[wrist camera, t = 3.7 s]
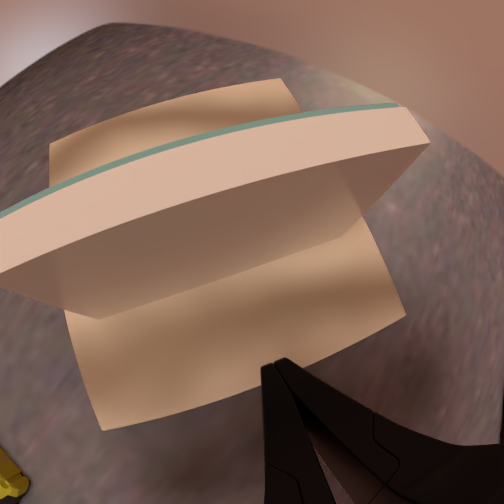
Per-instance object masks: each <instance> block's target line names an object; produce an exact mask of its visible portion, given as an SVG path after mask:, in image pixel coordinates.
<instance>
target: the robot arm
mask: <svg viewBox="0 0 504 504" xmlns="http://www.w3.org/2000/svg"><path fill="white" fill-rule="evenodd" d="M260 375H261V397H262V418H263V440H264V462H265V465H264V466H265V497H264V504H336V502H335V500H334V497H333V495H332V492H331V490H330V488H329V485H328V483H327V480H326V478H325V475H324V473H323V470H322V468H321V465H320V463H319V460H318V458H317V455H316V453H315V450H314V448H313V446H314V447H315V449H316V450H317V451H318V453H319V454H320V456H321V457H322V459H323V460H324V461H325V463H326V464H327V466H328V467H329V468H330V470H331V471H332V473H333V474H334V475H335V477H336V478H337V480H338V481H339V482H340V484H341V485H342V486H343V488H344V489H345V490H346V492H347V493H348V494H349V496H350V497H351V498H352V500H353V501H354V502H355V504H504V443H501V444H490V445H473V446H462V445H454V444H450V443H446V442H443V441H440V440H437V439H435V438H432V437H429V436H426V435H423V434H421V433H418V432H415V431H413V430H410V429H408V428H405V427H403V426H401V425H398V424H396V423H394V422H392V421H391V420H389V419H387V418H385V417H383V416H381V415H379V414H378V413H376V412H374V413H373V411H372V410H371V409H369V408H367V407H365V406H364V405H362V404H360V403H359V402H357V401H355V400H354V399H352V398H350V397H349V396H347V395H345V394H344V393H342V392H340V391H339V390H337V389H335V388H334V387H332V386H330V385H329V384H327V383H326V382H324V381H322V380H321V379H319V378H318V377H316V376H315V375H313V374H311V373H310V372H308V371H307V370H305V369H304V368H302V367H301V366H299V365H297V364H296V363H294V362H293V361H291V360H290V359H288V358H286V357H283V358H281V359H278V360H276V361H274V363H268V364H266V365H263V366H261V368H260ZM312 444H313V445H312Z"/></svg>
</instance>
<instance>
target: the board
mask: <svg viewBox="0 0 504 504" xmlns="http://www.w3.org/2000/svg"><path fill="white" fill-rule="evenodd" d="M296 113H303V111H302V110H301V108H300V107H299V105H298V104H297V102H296V101H295V99H294V98H293V96H292V95H291V93H290V92H289V90H288V89H287V87H286V86H285V84H284V83H283V81H282V80H281V79H280V78H278V79H271V80H264V81H257V82H251V83H245V84H239V85H233V86H228V87H223V88H218V89H213V90H208V91H204V92H200V93H195V94H191V95H187V96H183V97H179V98H175V99H172V100H168V101H164V102H161V103H157V104H154V105H151V106H147V107H144V108H141V109H138V110H135V111H132V112H129V113H126V114H123V115H120V116H117V117H114V118H111V119H109V120H106V121H103V122H101V123H98V124H95V125H93V126H90V127H88V128H85V129H83V130H80V131H78V132H76V133H73V134H71V135H69V136H66V137H64V138H62V139H60V140H57V141H55V142H53V143H51V144H50V153H49V186H50V187H52V186H54V185H57V184H59V183H61V182H63V181H66V180H68V179H70V178H73V177H75V176H77V175H80V174H82V173H85V172H87V171H90V170H92V169H95V168H97V167H100V166H102V165H105V164H108V163H110V162H113V161H116V160H119V159H121V158H124V157H127V156H130V155H133V154H136V153H139V152H142V151H145V150H148V149H151V148H154V147H157V146H160V145H164V144H167V143H170V142H174V141H177V140H180V139H184V138H187V137H191V136H195V135H198V134H202V133H206V132H210V131H214V130H218V129H222V128H226V127H230V126H235V125H239V124H244V123H248V122H253V121H258V120H263V119H268V118H273V117H279V116H285V115H290V114H296ZM64 311H65V316H66V320H67V325H68V329H69V333H70V337H71V341H72V344H73V348H74V352H75V355H76V359H77V362H78V365H79V369H80V372H81V375H82V378H83V381H84V384H85V387H86V390H87V393H88V396H89V398H90V401H91V404H92V407H93V409H94V412H95V414H96V417H97V419H98V422H99V424H100V427H101V429H102V431H104V430H109V429H114V428H119V427H124V426H128V425H133V424H137V423H141V422H145V421H150V420H153V419H157V418H161V417H165V416H169V415H172V414H176V413H179V412H183V411H186V410H190V409H193V408H196V407H200V406H203V405H206V404H209V403H212V402H215V401H218V400H221V399H224V398H227V397H230V396H233V395H236V394H238V393H241V392H244V391H247V390H249V389H252V388H255V387H257V386H260V385H261V375H260V368H261V366H263V365H266V364H268V363H274V361H276V360H278V359H281V358H283V357H286V358H288V359H290V360H291V361H293V362H294V363H296V364H297V365H299V366H301V367H302V368H304V367H306V366H308V365H311V364H313V363H315V362H317V361H319V360H322V359H324V358H326V357H328V356H330V355H332V354H334V353H336V352H338V351H340V350H343V349H345V348H347V347H349V346H351V345H353V344H355V343H357V342H358V341H360V340H362V339H364V338H366V337H368V336H370V335H372V334H374V333H376V332H377V331H379V330H381V329H383V328H385V327H387V326H388V325H390V324H392V323H394V322H395V321H397V320H399V319H401V318H402V317H404V316H406V313H405V311H404V308H403V306H402V303H401V301H400V298H399V296H398V293H397V291H396V288H395V286H394V284H393V281H392V279H391V276H390V274H389V272H388V269H387V267H386V265H385V263H384V260H383V258H382V256H381V254H380V252H379V249H378V247H377V245H376V243H375V241H374V239H373V237H372V234H371V232H370V230H369V228H368V226H367V224H366V222H365V220H364V218H363V216H362V217H361V218H360V219H359V220H358V221H357V222H356V223H355V224H354V225H353V226H352V227H351V228H350V229H349V230H348V231H347V232H346V233H345V234H344V235H343V236H342V237H340V238H337V239H334V240H331V241H328V242H326V243H323V244H320V245H317V246H314V247H312V248H309V249H306V250H303V251H300V252H298V253H295V254H292V255H289V256H286V257H283V258H281V259H278V260H275V261H272V262H269V263H266V264H263V265H261V266H258V267H255V268H252V269H249V270H246V271H243V272H240V273H238V274H235V275H232V276H229V277H226V278H223V279H220V280H217V281H214V282H211V283H208V284H205V285H203V286H200V287H197V288H194V289H191V290H188V291H185V292H182V293H179V294H176V295H173V296H170V297H167V298H164V299H161V300H158V301H155V302H152V303H149V304H146V305H143V306H140V307H137V308H134V309H131V310H128V311H125V312H122V313H119V314H115V315H112V316H109V317H106V318H103V319H100V320H98V319H94V318H91V317H87V316H84V315H80V314H77V313H73V312H70V311H67V310H64Z"/></svg>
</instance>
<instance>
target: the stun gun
mask: <svg viewBox="0 0 504 504" xmlns="http://www.w3.org/2000/svg"><path fill="white" fill-rule="evenodd" d="M20 473H21V470H20V469H19V468H18V467H17V466H16V465H15V464H14V462H13V461H12V460H11V459H10V458H9V457H8V456H7V455H6V453H5V452H4V451H3V450H2V449H1V448H0V504H17V503H18V501H19V500H20V499H21V498H22V497H23V496H24V495H25V493H26V491H27V489H28V486H29V479H28V478H27V477H26V476H22V475H21V474H20Z"/></svg>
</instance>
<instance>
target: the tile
mask: <svg viewBox="0 0 504 504" xmlns="http://www.w3.org/2000/svg"><path fill="white" fill-rule="evenodd" d="M430 143H431V142H430V141H429V139H428V138H427V136H426V135H425V133H424V132H423V131H422V129H421V128H420V126H419V125H418V123H417V122H416V121H415V119H414V118H413V117H412V115H411V114H410V112H409V111H408V110H407V109H406V107H399V106H398V105H397V104H396V103H384V104H370V105H359V106H349V107H340V108H331V109H324V110H316V111H309V112H303V113H296V114H290V115H285V116H279V117H273V118H268V119H263V120H258V121H253V122H248V123H244V124H239V125H235V126H230V127H226V128H222V129H218V130H214V131H210V132H206V133H202V134H198V135H195V136H191V137H187V138H184V139H180V140H177V141H174V142H170V143H167V144H164V145H160V146H157V147H154V148H151V149H148V150H145V151H142V152H139V153H136V154H133V155H130V156H127V157H124V158H121V159H119V160H116V161H113V162H110V163H108V164H105V165H102V166H100V167H97V168H95V169H92V170H90V171H87V172H85V173H82V174H80V175H77V176H75V177H73V178H70V179H68V180H66V181H63V182H61V183H59V184H57V185H54V186H52V187H50V188H48V189H46V190H43V191H41V192H39V193H37V194H35V195H33V196H31V197H29V198H27V199H25V200H23V201H21V202H19V203H17V204H15V205H13V206H11V207H9V208H7V209H6V210H4V211H2V212H0V288H3V289H5V290H8V291H11V292H13V293H16V294H19V295H22V296H24V297H27V298H30V299H33V300H36V301H39V302H42V303H45V304H48V305H51V306H54V307H57V308H60V309H64V310H67V311H70V312H73V313H77V314H80V315H84V316H87V317H91V318H94V319H98V320H100V319H103V318H106V317H109V316H112V315H115V314H119V313H122V312H125V311H128V310H131V309H134V308H137V307H140V306H143V305H146V304H149V303H152V302H155V301H158V300H161V299H164V298H167V297H170V296H173V295H176V294H179V293H182V292H185V291H188V290H191V289H194V288H197V287H200V286H203V285H205V284H208V283H211V282H214V281H217V280H220V279H223V278H226V277H229V276H232V275H235V274H238V273H240V272H243V271H246V270H249V269H252V268H255V267H258V266H261V265H263V264H266V263H269V262H272V261H275V260H278V259H281V258H283V257H286V256H289V255H292V254H295V253H298V252H300V251H303V250H306V249H309V248H312V247H314V246H317V245H320V244H323V243H326V242H328V241H331V240H334V239H337V238H340V237H342V236H343V235H344V234H345V233H346V232H347V231H348V230H349V229H350V228H351V227H352V226H353V225H354V224H355V223H356V222H357V221H358V220H359V219H360V218H361V217H362V216H363V214H364V213H365V212H366V211H367V210H368V209H369V208H370V207H371V206H372V205H373V204H374V203H375V202H376V201H377V200H378V199H379V198H380V197H381V196H382V195H383V194H384V193H385V192H386V191H387V190H388V189H389V187H390V186H391V185H392V184H393V183H394V182H395V181H396V180H397V179H398V178H399V177H400V176H401V175H402V174H403V173H404V171H405V170H406V169H407V168H408V167H409V166H410V165H411V164H412V163H413V162H414V161H415V160H416V158H417V157H418V156H419V155H420V154H421V153H422V152H423V151H424V150H425V148H426V147H427V146H428V145H429V144H430Z"/></svg>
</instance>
